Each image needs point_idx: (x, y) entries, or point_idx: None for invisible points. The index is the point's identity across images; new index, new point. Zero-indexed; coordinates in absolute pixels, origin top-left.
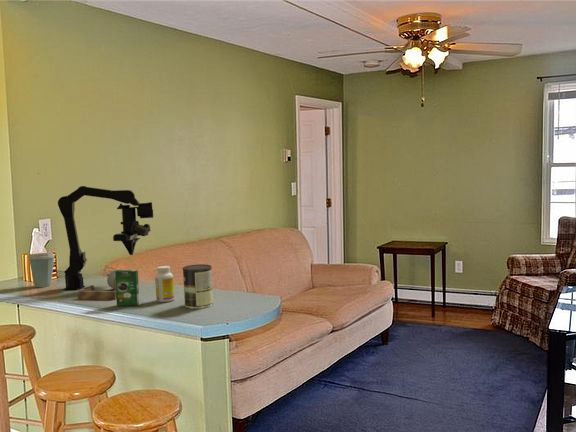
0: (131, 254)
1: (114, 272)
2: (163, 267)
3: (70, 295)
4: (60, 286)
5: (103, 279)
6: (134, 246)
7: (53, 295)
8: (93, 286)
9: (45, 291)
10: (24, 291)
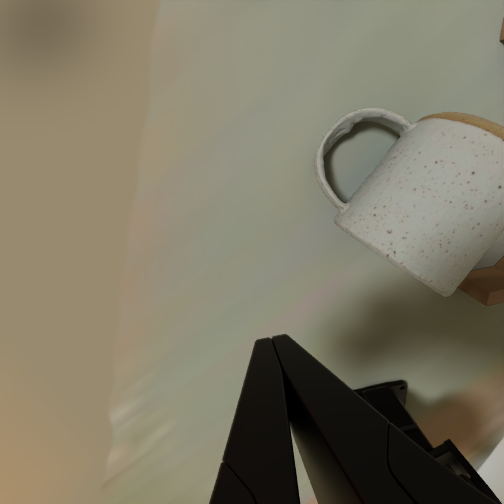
0: (288, 344)
1: (475, 256)
2: None
3: (499, 331)
4: None
5: (168, 440)
6: (249, 471)
7: (488, 387)
8: (490, 288)
9: None
10: None
